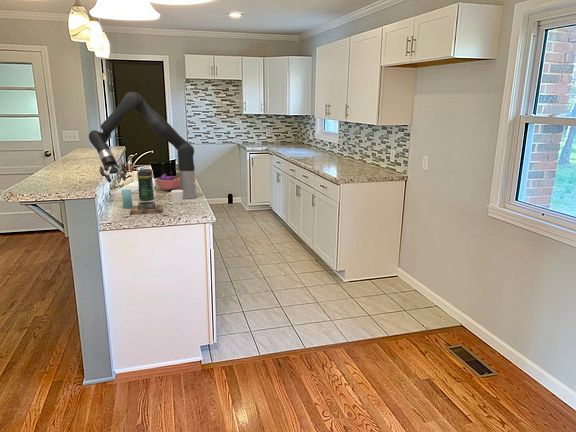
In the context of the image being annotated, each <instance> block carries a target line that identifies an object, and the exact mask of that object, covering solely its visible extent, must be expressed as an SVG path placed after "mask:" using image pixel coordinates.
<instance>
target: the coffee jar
mask: <svg viewBox="0 0 576 432" xmlns="http://www.w3.org/2000/svg"><path fill="white" fill-rule="evenodd" d="M137 181H138V183H137V185H138V199H139V200H140V201H142V202H147V201H152V200H153V199H154V198H155V197H154V185H153V171H152V170H151V169H150V168H144V169H141V170H138V171H137Z"/></svg>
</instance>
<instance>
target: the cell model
mask: <svg viewBox="0 0 576 432" xmlns="http://www.w3.org/2000/svg"><path fill="white" fill-rule="evenodd" d="M154 180H155V182H156V184H157V186H158V187H159V189H161V190H164V191H166V192H167V191H172V190H180V176H179V175H178V176H176V175H171V176H168V175H167V174H166V173H163V174H162V175H161V176H159V177H156V178H155V179H154Z"/></svg>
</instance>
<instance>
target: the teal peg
mask: <svg viewBox="0 0 576 432" xmlns="http://www.w3.org/2000/svg"><path fill="white" fill-rule="evenodd" d="M121 197H122V207H123V209H125V210H131V208H132V206H134V205H133V195H132V189H128V188H127V189H126V188H125V189H121Z"/></svg>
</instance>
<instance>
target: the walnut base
mask: <svg viewBox="0 0 576 432" xmlns="http://www.w3.org/2000/svg"><path fill="white" fill-rule="evenodd" d="M148 213H155V214H162V213H163V204H156V201H155V200H154V201H152V200H148V201H138V203H137V205H133V206H132V208H130V216H131V215H133V216H134V215H135V214H136V215H149V214H148Z"/></svg>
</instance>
